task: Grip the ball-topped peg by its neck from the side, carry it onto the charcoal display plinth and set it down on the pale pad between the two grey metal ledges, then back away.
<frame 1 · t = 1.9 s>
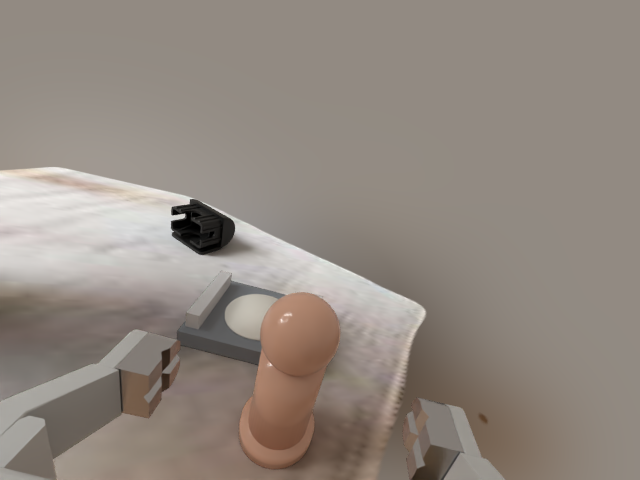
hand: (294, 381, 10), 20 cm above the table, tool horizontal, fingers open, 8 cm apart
display plinth: (257, 327, 41), on the table
ball-topped peg: (275, 429, 30), on the table
end cap: (201, 241, 59), on the table
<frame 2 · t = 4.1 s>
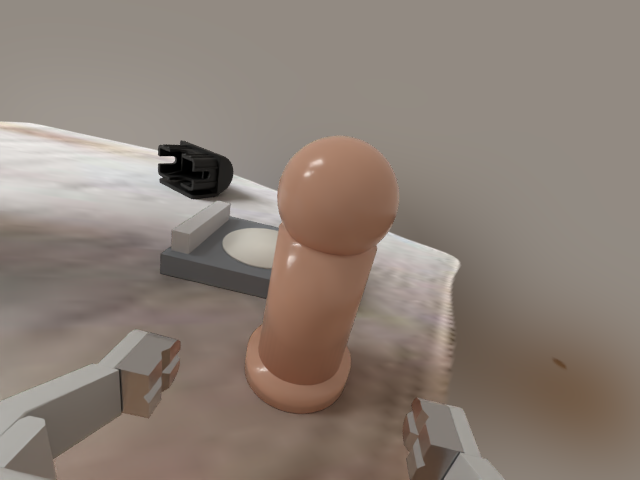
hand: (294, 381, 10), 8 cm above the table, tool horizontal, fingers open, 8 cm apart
display plinth: (264, 263, 33), on the table
ball-topped peg: (296, 366, 21), on the table
end cap: (194, 190, 51), on the table
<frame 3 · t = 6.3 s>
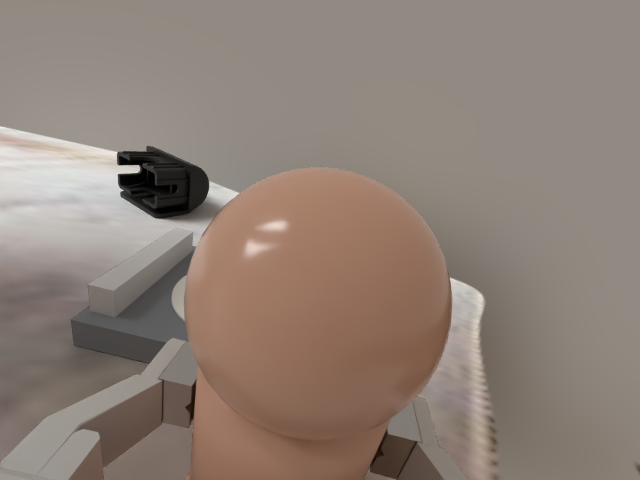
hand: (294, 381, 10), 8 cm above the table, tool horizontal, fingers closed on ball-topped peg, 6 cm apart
display plinth: (233, 316, 25), on the table
end cap: (163, 205, 42), on the table
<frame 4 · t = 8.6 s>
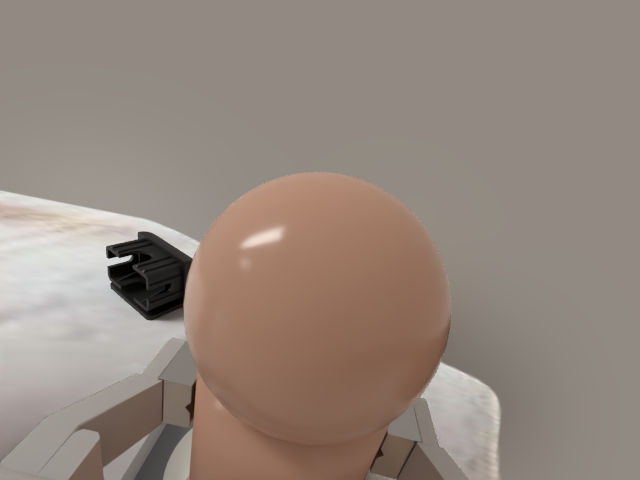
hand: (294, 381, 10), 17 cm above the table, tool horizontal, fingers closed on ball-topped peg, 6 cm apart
end cap: (156, 294, 40), on the table
when the fingers open (12 cm above the table, at t = 11.1 s): ball-topped peg drops 1 cm, resting on display plinth.
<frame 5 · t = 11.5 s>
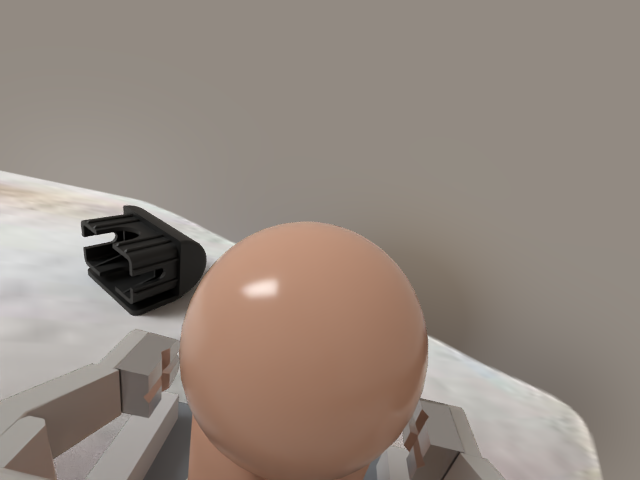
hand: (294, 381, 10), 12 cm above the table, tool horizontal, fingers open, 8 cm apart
end cap: (145, 283, 32), on the table
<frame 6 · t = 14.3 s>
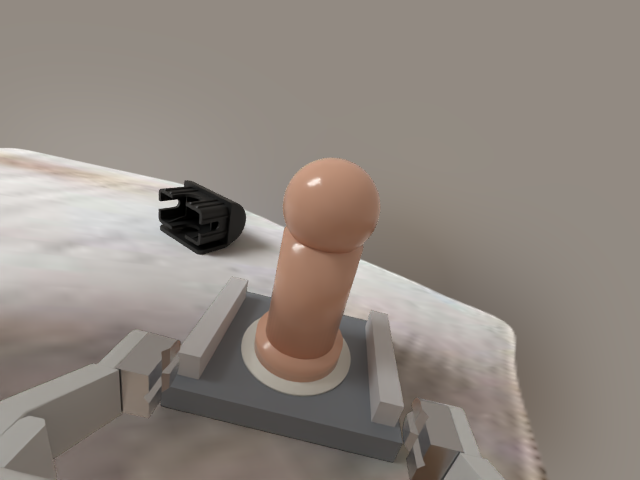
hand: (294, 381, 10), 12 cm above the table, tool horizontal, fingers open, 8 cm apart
display plinth: (292, 366, 26), on the table
ball-topped peg: (297, 346, 25), point 2 cm above the table, touching display plinth
end cap: (200, 237, 44), on the table
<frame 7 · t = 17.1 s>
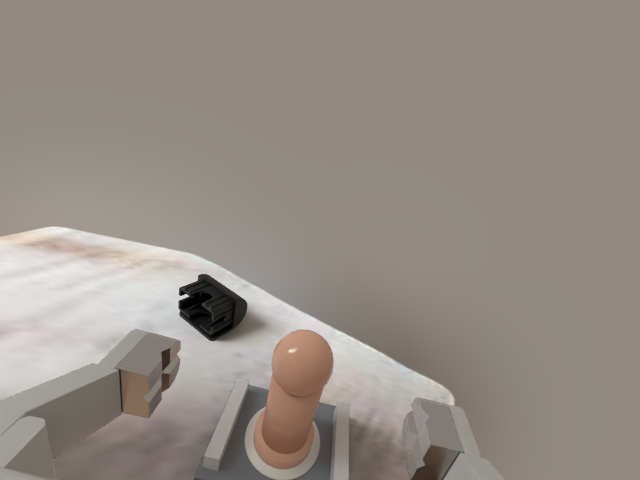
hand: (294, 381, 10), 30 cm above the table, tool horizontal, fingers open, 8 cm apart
display plinth: (280, 448, 37), on the table
ball-topped peg: (283, 437, 36), point 2 cm above the table, touching display plinth
end cap: (211, 320, 55), on the table
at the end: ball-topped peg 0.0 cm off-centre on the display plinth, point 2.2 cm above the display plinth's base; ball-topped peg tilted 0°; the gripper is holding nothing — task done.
